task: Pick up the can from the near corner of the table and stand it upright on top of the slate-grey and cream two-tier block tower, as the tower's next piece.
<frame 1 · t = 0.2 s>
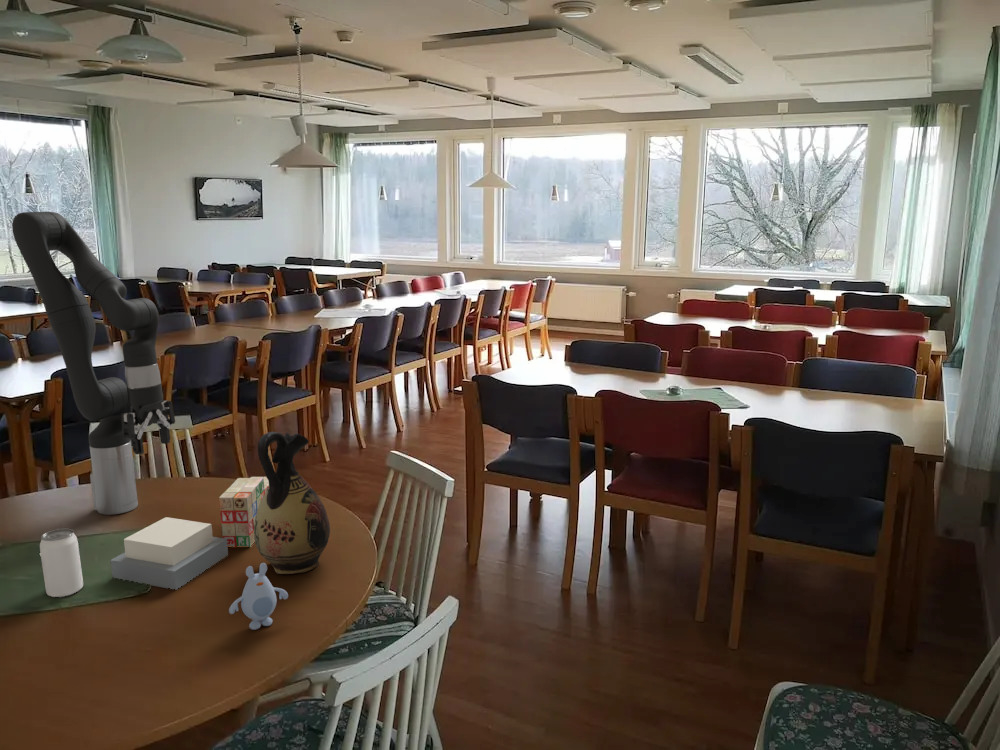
hand: (152, 448, 186), 17 cm above the table, tool pointing down, fingers open, 8 cm apart
can: (65, 591, 153), on the table
toy figure: (261, 626, 140), on the table
stack of blocks: (252, 529, 182), on the table
ceramic jug: (291, 567, 163), on the table
tower base: (172, 566, 163), on the table
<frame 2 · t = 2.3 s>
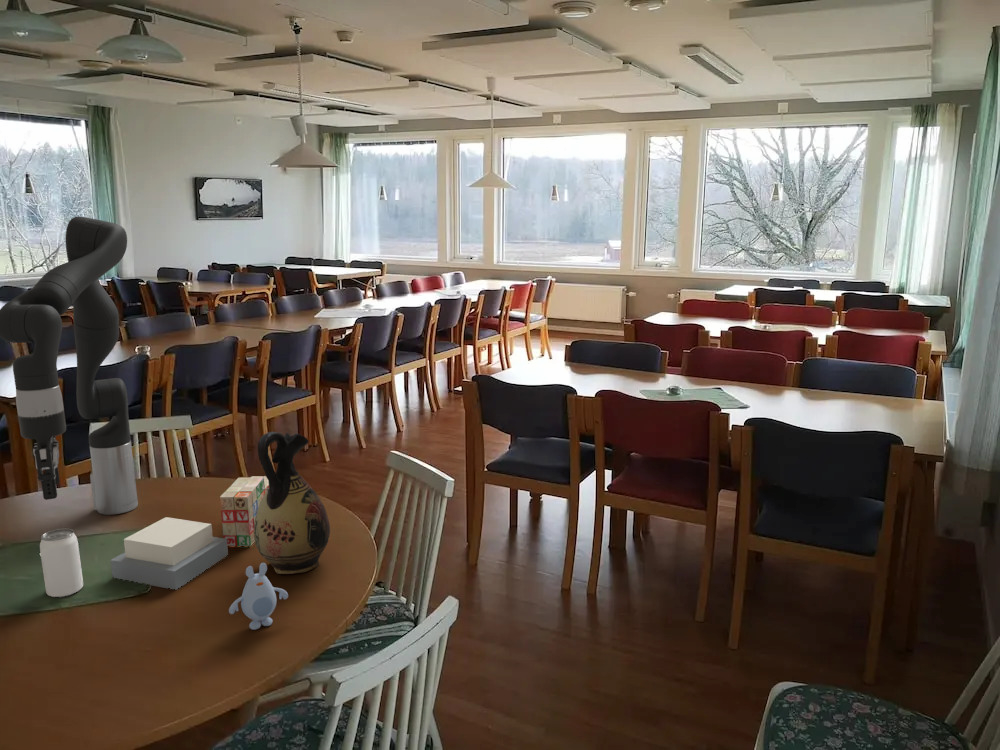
hand: (52, 491, 148), 21 cm above the table, tool pointing down, fingers open, 8 cm apart
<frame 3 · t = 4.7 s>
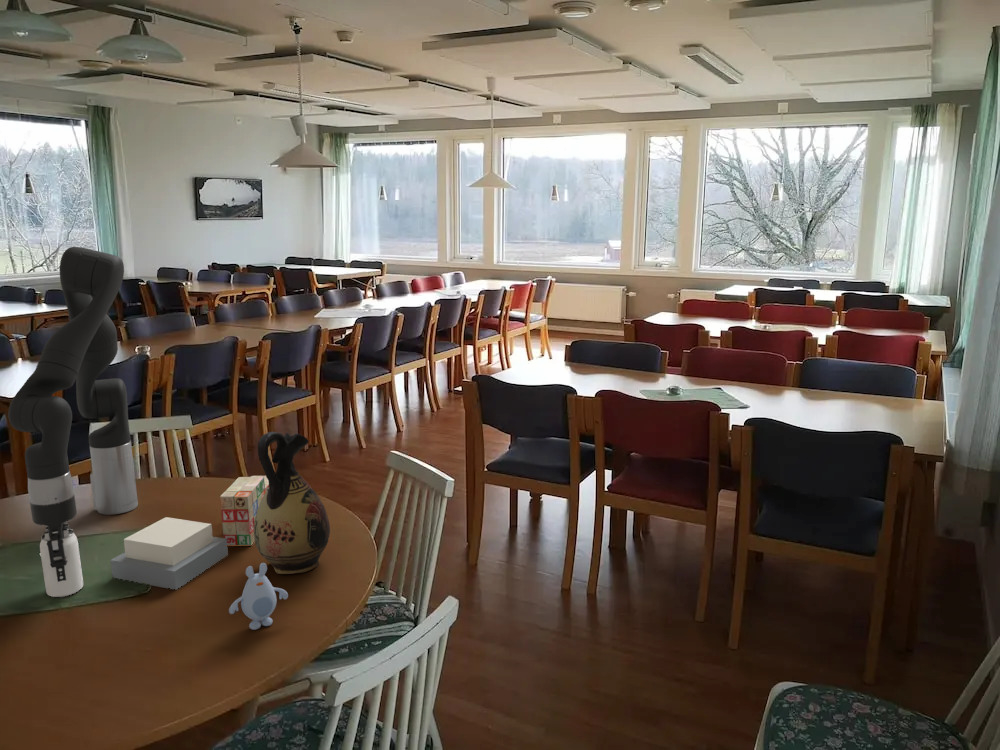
hand: (63, 575, 153), 3 cm above the table, tool pointing down, fingers closed on can, 5 cm apart
can: (65, 591, 153), on the table, touching gripper
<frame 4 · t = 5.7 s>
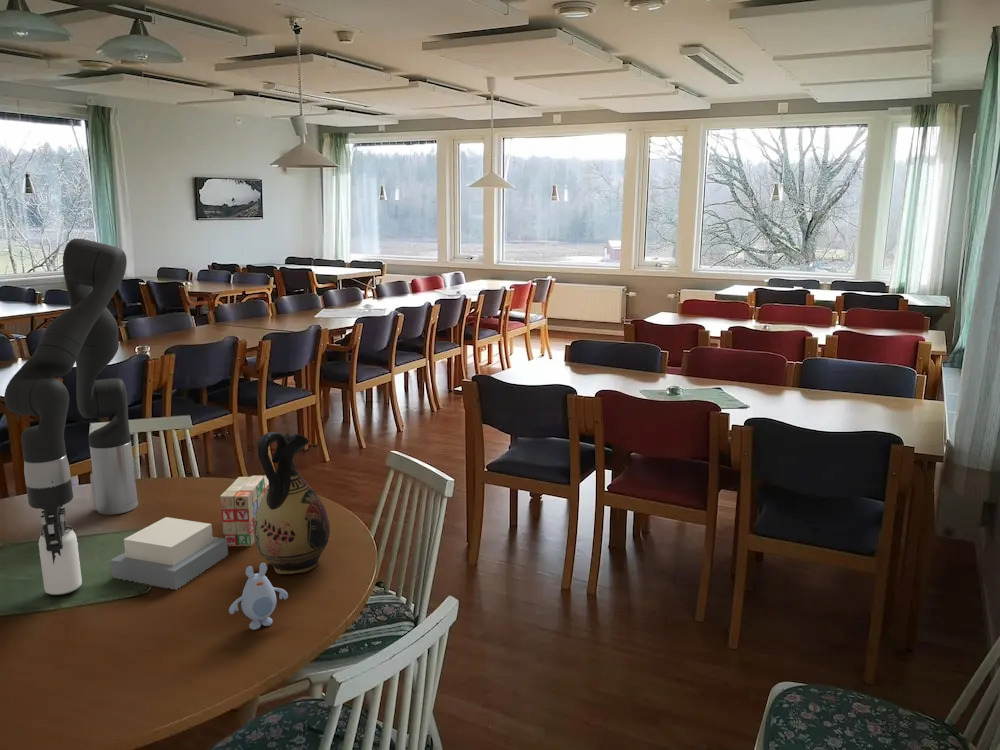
hand: (59, 560, 152), 6 cm above the table, tool pointing down, fingers closed on can, 5 cm apart
can: (63, 589, 152), point 1 cm above the table, touching gripper
everything else where it was.
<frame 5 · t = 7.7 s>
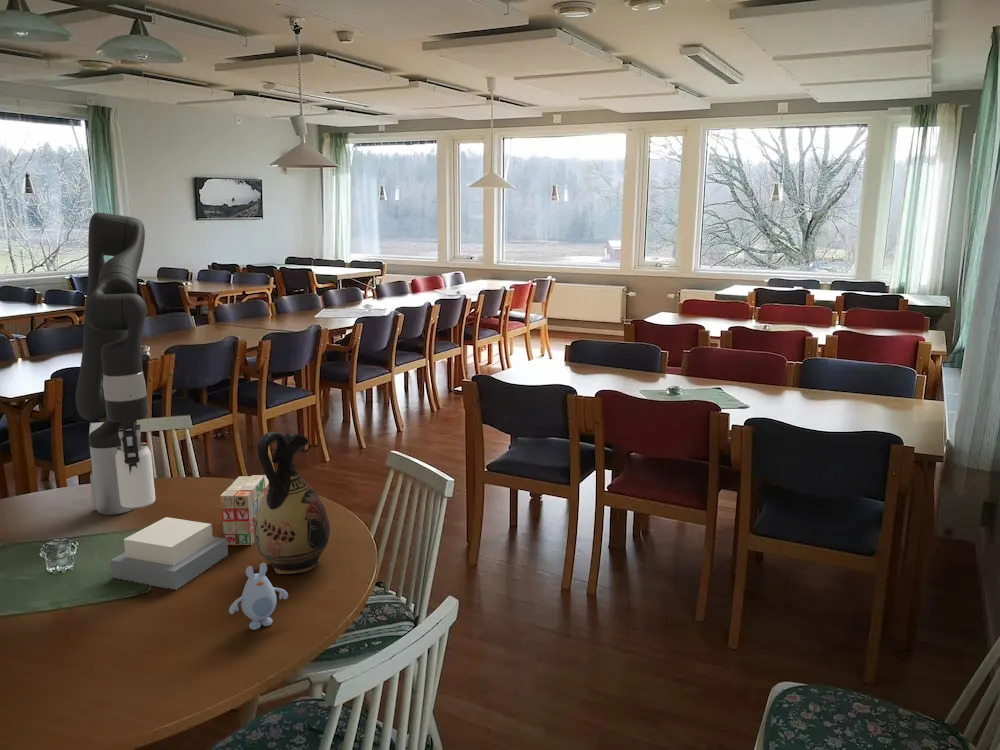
hand: (134, 475, 155), 21 cm above the table, tool pointing down, fingers closed on can, 5 cm apart
can: (138, 504, 156), point 15 cm above the table, touching gripper
when the fingers open (14 cm above the table, at t = 9.4 s): can stays where it is, resting on tower base.
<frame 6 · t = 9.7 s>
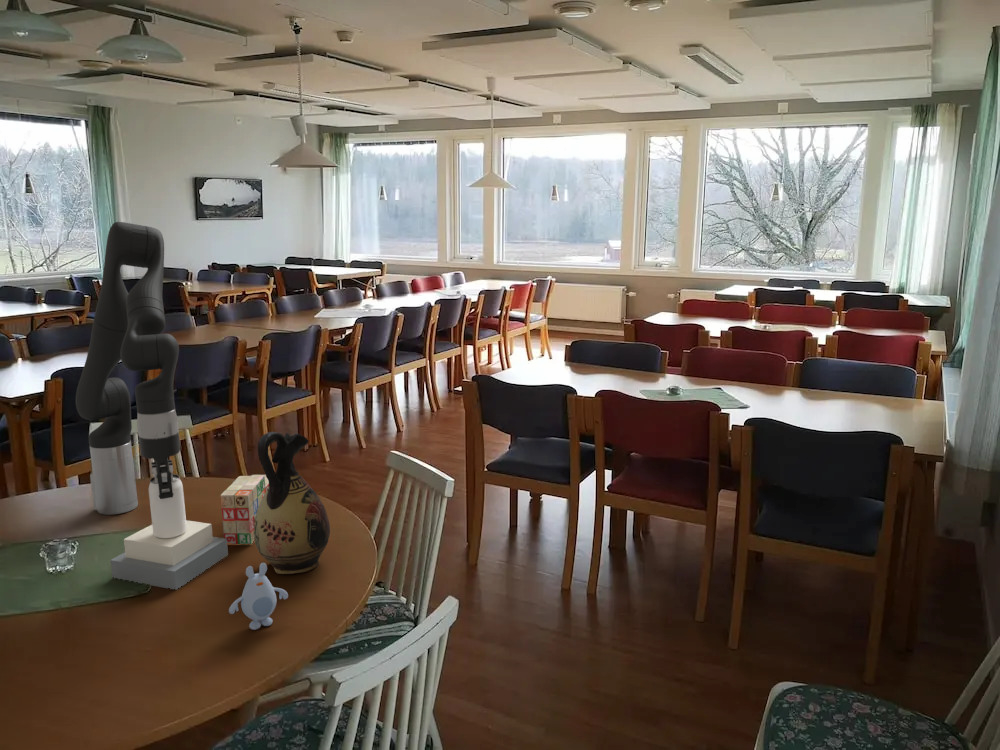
hand: (166, 509, 160), 13 cm above the table, tool pointing down, fingers open, 5 cm apart
can: (170, 533, 160), point 8 cm above the table, touching tower base
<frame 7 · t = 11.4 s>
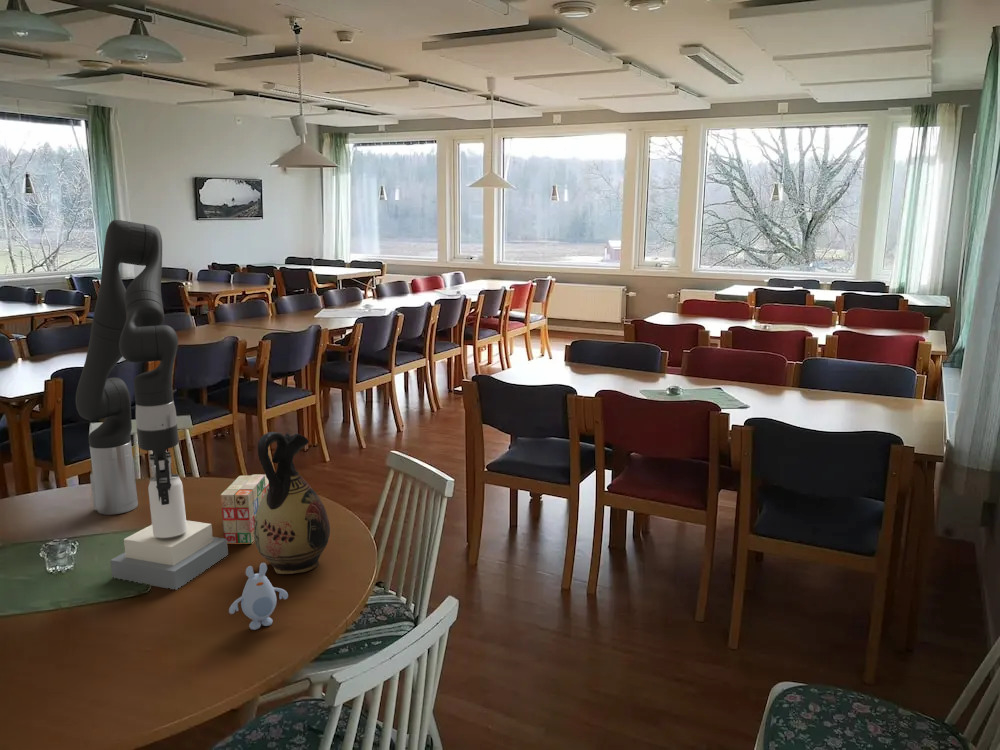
hand: (164, 498, 159), 15 cm above the table, tool pointing down, fingers open, 8 cm apart
can: (170, 535, 158), point 8 cm above the table, touching tower base
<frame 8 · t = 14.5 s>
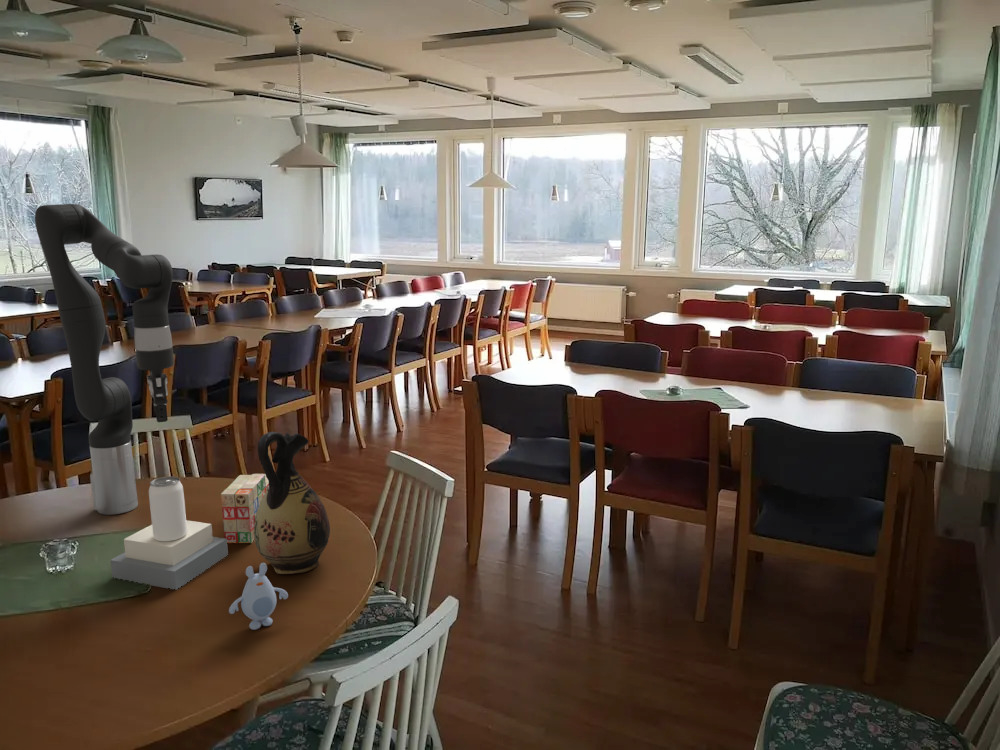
hand: (161, 417, 173), 28 cm above the table, tool pointing down, fingers open, 8 cm apart
at the end: can inside the target area on the tower base (2.8 cm from its centre), point 7.8 cm above the tower base's base; can tilted 0°; the gripper is holding nothing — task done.
